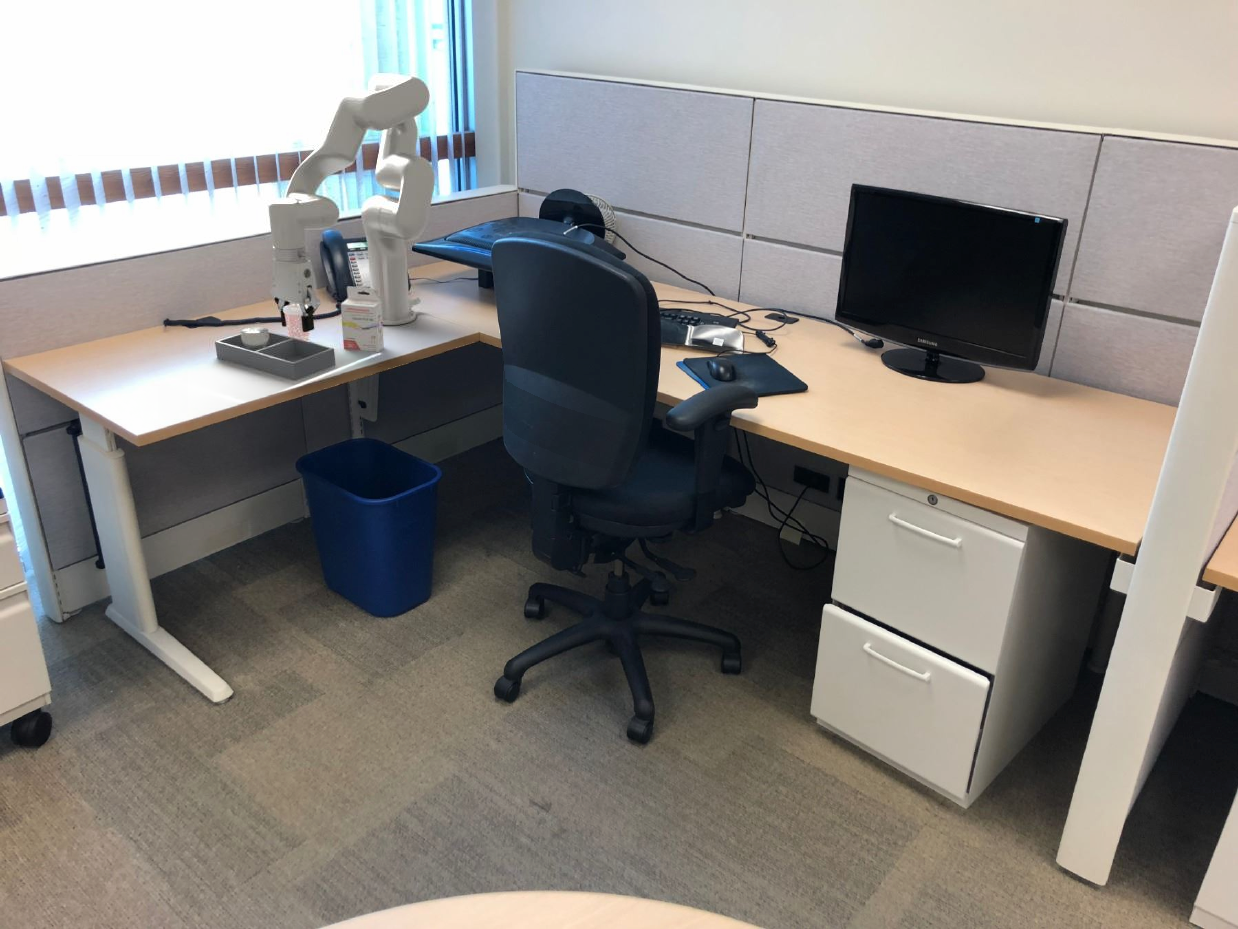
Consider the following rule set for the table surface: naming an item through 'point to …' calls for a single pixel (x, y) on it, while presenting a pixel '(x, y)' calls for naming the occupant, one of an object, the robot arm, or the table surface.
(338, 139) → the robot arm
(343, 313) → the ink cartridge box
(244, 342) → the metal tin
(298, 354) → the organizer tray
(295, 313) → the beverage cup
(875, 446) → the table surface
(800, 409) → the table surface
